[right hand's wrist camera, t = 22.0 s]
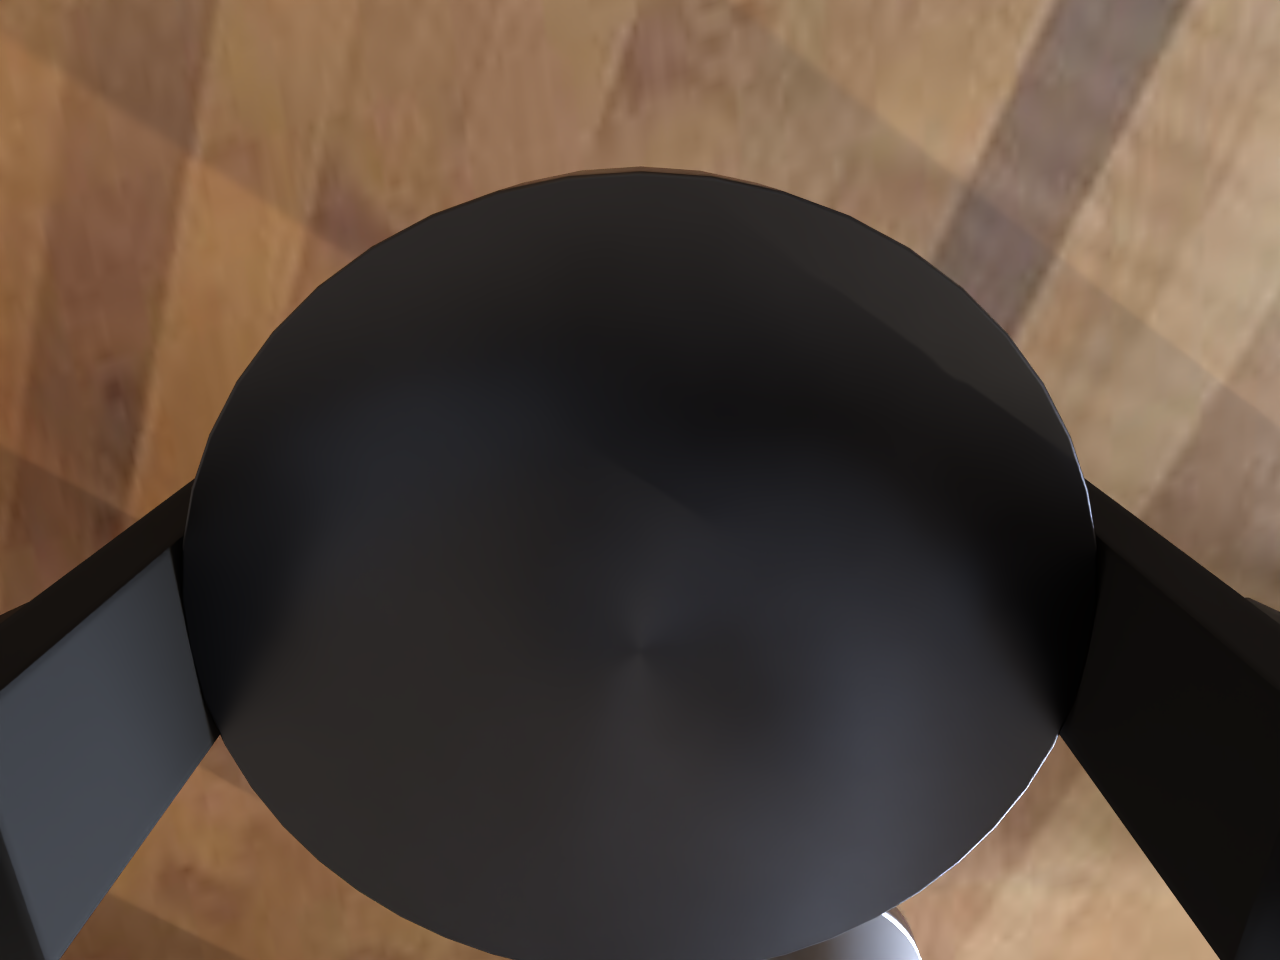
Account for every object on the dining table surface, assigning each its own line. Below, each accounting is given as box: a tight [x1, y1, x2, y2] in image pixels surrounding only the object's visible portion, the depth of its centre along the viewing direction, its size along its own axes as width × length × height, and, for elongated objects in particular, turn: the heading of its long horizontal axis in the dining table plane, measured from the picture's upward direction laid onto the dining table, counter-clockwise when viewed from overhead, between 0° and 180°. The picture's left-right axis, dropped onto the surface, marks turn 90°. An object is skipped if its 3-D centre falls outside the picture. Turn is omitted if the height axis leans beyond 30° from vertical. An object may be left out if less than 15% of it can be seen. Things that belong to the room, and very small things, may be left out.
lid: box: [182, 167, 1097, 960], centre depth 11 cm, size 11×11×2 cm
